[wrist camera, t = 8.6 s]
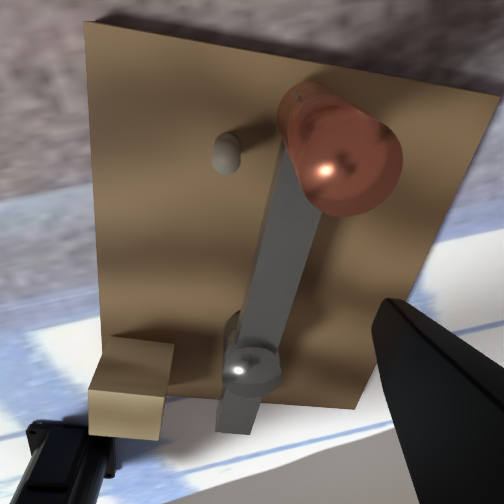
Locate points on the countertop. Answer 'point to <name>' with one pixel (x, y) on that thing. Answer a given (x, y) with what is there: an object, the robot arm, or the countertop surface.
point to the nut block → (130, 389)
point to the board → (253, 204)
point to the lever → (299, 230)
